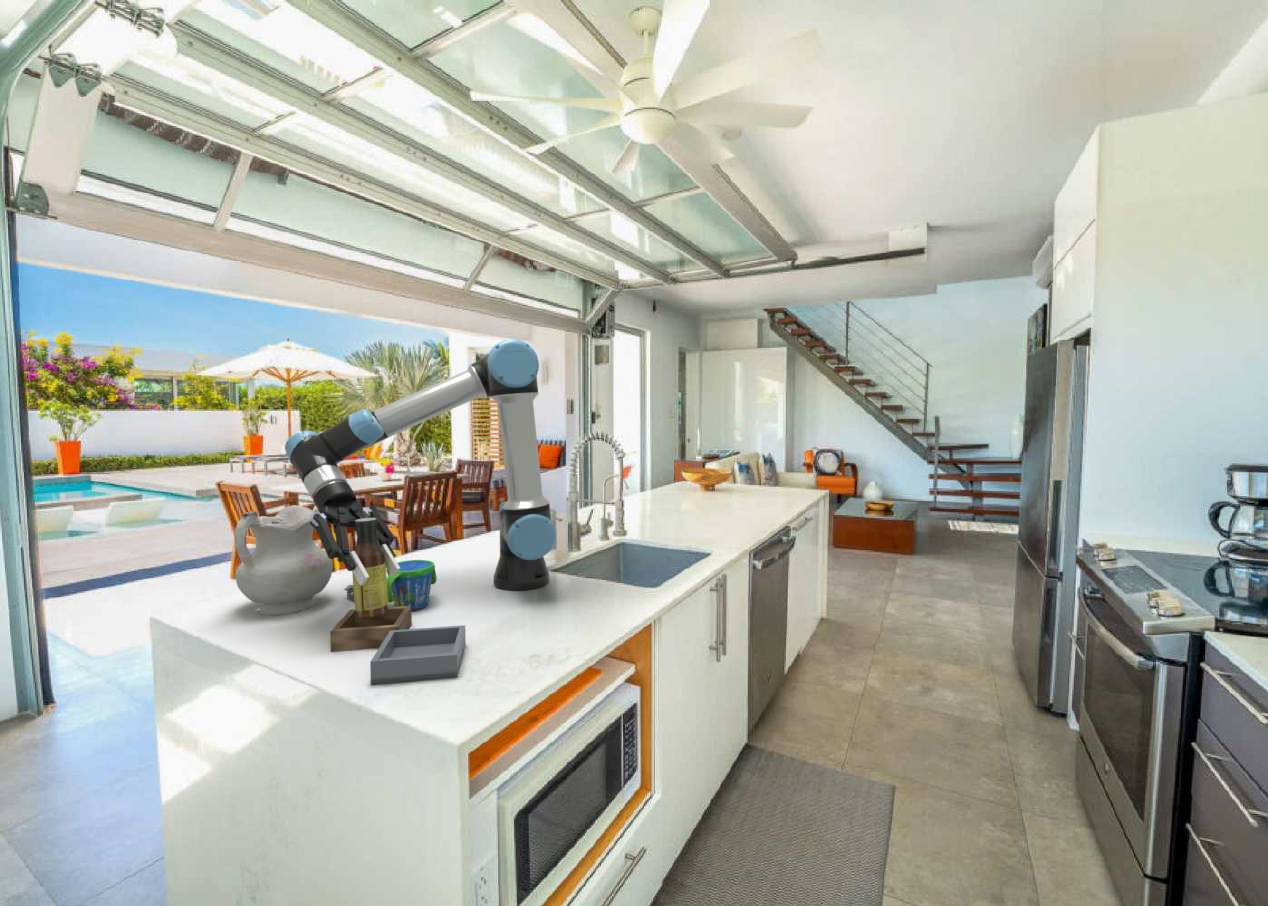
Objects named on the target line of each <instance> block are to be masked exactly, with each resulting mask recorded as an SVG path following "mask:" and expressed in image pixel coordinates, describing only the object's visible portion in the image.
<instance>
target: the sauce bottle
mask: <svg viewBox="0 0 1268 906" xmlns="http://www.w3.org/2000/svg"><path fill="white" fill-rule="evenodd" d="M376 526H377V519H376V518H362V519H357V520H355V527H356V529H357V530H356V545H355V547H354V549H353V551H355V553H356V554H357V556H358V558H359V559H360V561H361V563H362V565H363V566H364V568H365V570H366V571H367V573H368V575H369V578H368V579H367V581H366V582H365V584H364V585H361V586H360V584H359V583H358V581H357V579H356V577H355V576H354V574H353V572H352V571H351V572H352V573H351V574H352V585H353V589H354V609H355V610H356V616H357V617H360V618H375V617H378V616H381V615H383V614H385V613H386V612H387V611H388V607H389V603H388V589H387V577H388V574H387V571H386V569H387V568H386V561H385V556H384V554H383V551H382V549H381V546H380V543H379V541H378V537H377V528H376Z"/></svg>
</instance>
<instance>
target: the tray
mask: <svg viewBox="0 0 1268 906" xmlns="http://www.w3.org/2000/svg"><path fill="white" fill-rule="evenodd" d="M466 638H467V637H466V624H464V625H463V624H462V625H454V626H453V625H450V626H449V625H448V626H437V627H435V626H433V627H421V628H409V629H405V630H391V631H390V632H389V633H388V635H387V636H386V638H385V639H384V641H383V643H382V644H381V646H380V647H379V648H377V650H376V652H375V654H374V655H373V656H372V658H371V660H370V664H369V665H370V685H371V686H372V685H374V686H375V685H383V684H384V685H386V684H397V683H406V682H418V681H428V680H429V681H431V680H440V679H441V680H443V679H452V678H453V679H455V678H459V677H458V676H459V672H460V669H461V665H462V661H463V657H464V653H465V648H466V644H467V642H466V640H467V639H466Z"/></svg>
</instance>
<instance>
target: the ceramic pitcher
mask: <svg viewBox="0 0 1268 906" xmlns="http://www.w3.org/2000/svg"><path fill="white" fill-rule="evenodd" d="M316 513H318V514H321V513H320V512H319V510H318V509H317V507H316V505H315V504H314V507H313V509H311V508H308V507H307V506H300V505H297V504H296V505H295V504H293V505H290V506H286V507H283V508H282V509H281V510H279V512H278V513H277V514H276V515H275V516H264V515H261V516H259V514H258V511H257V510H251V511H250V510H249V511H246V512H244V514H241V516H242V517H241V518H240V519H239V521H238V523H237V524H236V527H235V529H234V532H233V533H234V538H233V539H234V545H235V548H236V552H237V554H238V557H239V559H240V561H241V563H239V565H238V566H237V568H236V570H235V583H236V585H237V588H238V590H239V591H240V592H241V593H242V594H243V595H244V596H245V597H246V598H247V599H249V600H250V601H251V602H253V603H255V604H261V606H259V607H260V608H259V610H258V611H257V612H258V614H259V615H265V616H267V615H268V616H274V617H275V616H280V615H286V614H294V613H295V614H296V613H300V612H301V611H304V610H306V609H308V608H311V607H312V606H314V605H317V604H319V602H320V601H319V600H320V599H319V598H315V595H318V594H319V593H321V592H322V591H324V589H325V588H326V587H327V585H328V584H329V581H330V580H331V578H332V574H333V567H334V566H333V565H334V564H333V559H330V558H328V555H327V553H326V551H325V549H322V548H321V547H320V546H318V545H316V544H315V543H314V540H313V533H314V530H315V528H314V527H313V526H312V525H311V524H310V521H311V519H312V518H313V516H314V514H316ZM249 528H250V530H251V532H252V533H253V535H254V537H255V541H256V544H255V549H254V550H253V552H252V553H251V552H250V549H249V548H248V546H247V545H248V544H247V532H248V530H249Z"/></svg>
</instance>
